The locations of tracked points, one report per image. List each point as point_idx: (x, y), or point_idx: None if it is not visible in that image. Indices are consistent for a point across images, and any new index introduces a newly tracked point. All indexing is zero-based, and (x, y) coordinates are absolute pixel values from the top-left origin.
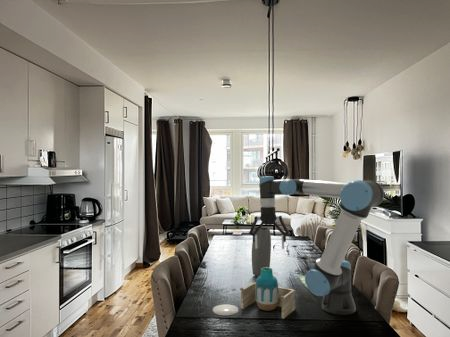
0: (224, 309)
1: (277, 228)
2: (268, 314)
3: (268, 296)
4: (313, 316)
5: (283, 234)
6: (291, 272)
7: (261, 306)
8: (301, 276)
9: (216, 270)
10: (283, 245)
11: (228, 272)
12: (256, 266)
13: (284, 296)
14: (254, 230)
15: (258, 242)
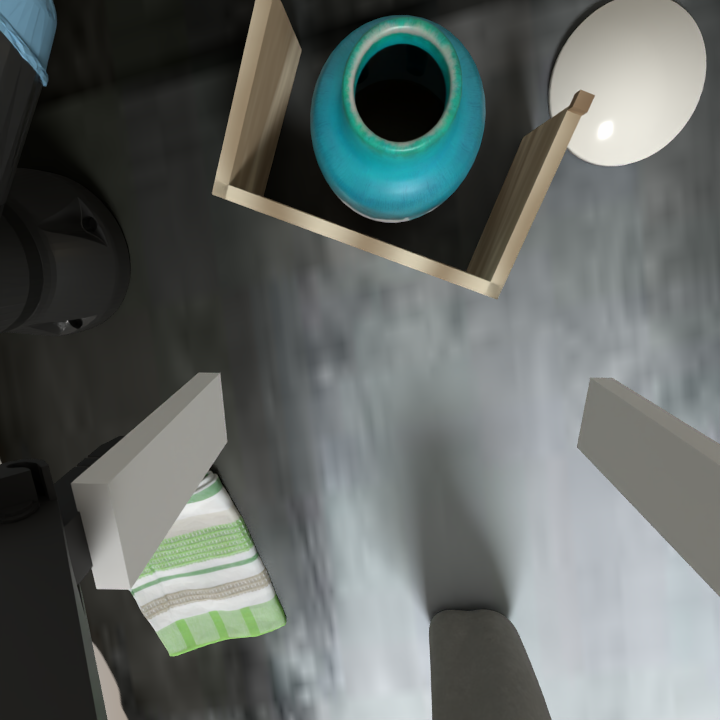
0: (633, 77)
1: (74, 692)
2: None
3: (374, 57)
4: (151, 122)
5: (30, 511)
6: (328, 690)
7: (419, 93)
8: (270, 626)
9: (715, 677)
10: (177, 397)
11: (646, 657)
12: (507, 653)
13: (258, 25)
14: None
15: None
